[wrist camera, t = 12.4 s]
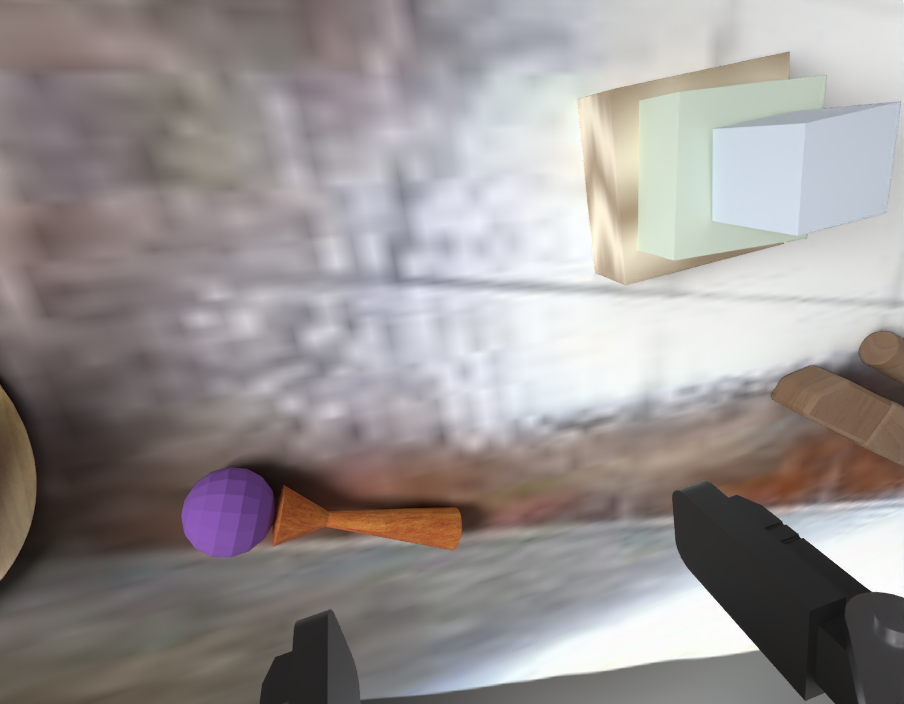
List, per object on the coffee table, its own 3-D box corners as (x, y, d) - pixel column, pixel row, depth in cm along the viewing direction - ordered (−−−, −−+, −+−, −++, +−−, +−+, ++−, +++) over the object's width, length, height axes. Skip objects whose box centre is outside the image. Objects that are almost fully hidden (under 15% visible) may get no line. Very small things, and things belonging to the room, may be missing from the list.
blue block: (712, 129, 28) (805, 123, 23) (792, 111, 29) (900, 101, 24) (712, 221, 30) (797, 235, 25) (786, 202, 31) (886, 212, 26)
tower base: (574, 100, 35) (609, 89, 31) (732, 66, 37) (789, 51, 32) (592, 271, 40) (625, 285, 35) (733, 235, 41) (783, 243, 37)
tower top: (639, 100, 31) (679, 91, 28) (771, 85, 33) (827, 74, 29) (637, 250, 35) (674, 260, 31) (758, 231, 36) (807, 238, 32)
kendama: (449, 584, 41) (168, 574, 34) (434, 525, 46) (187, 506, 39) (475, 531, 39) (178, 509, 32) (457, 475, 44) (197, 445, 37)
